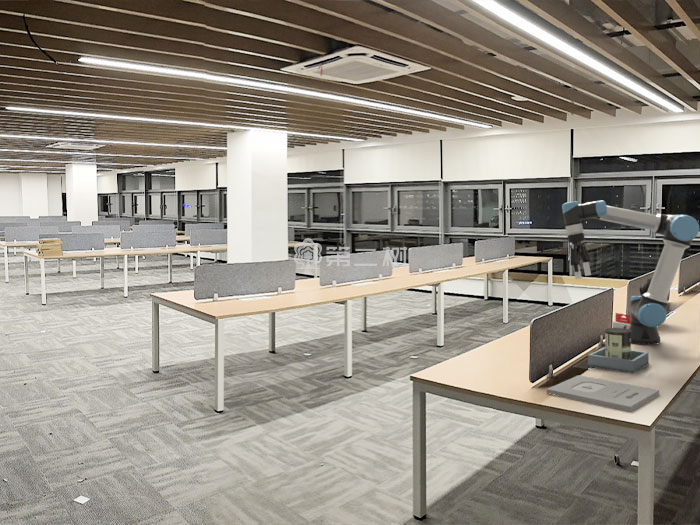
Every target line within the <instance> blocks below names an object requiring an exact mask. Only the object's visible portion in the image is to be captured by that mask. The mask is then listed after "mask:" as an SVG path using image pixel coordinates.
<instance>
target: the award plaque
mask: <svg viewBox="0 0 700 525" xmlns="http://www.w3.org/2000/svg"><path fill="white" fill-rule="evenodd" d="M547 393H551V394H555V395H554V396H556V395H559V396H558V397H560V396H562V397H561V398H565V397H566V399H570V400H574V401H580V402H584V403H588V404H593V405H597V406H602V407H607V408H612V409H617V410H621V411H625V412H630V413H631V412H633V411H635V410H636V409H637V408H639V407H640V406H643V405H645V404H646V403H648V402H649V401H651V400H653V399H654V398H656V397H657V396H659V395H660V389H656V388H651V387H644V386H639V385H634V384H629V383H623V382H617V381H613V380H606V379H602V378H596V377H590V376H585V375H580V374H578V375H575V376H574V377H572V378H569V379H567V380H564V381H562V382H560V383H558V384H557V383H556V384H555V385H553V386H550V387H548V388H546V394H547ZM551 394H550V395H551Z"/></svg>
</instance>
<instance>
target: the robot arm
mask: <svg viewBox="0 0 700 525" xmlns="http://www.w3.org/2000/svg"><path fill="white" fill-rule="evenodd" d="M561 208H562V215H563V222H564V225H565V228H564V230H565V232H566V234H567V242H568V243H569V244H570V245H569V250H570V266H572V267H573V272H574V278H575V280H577V279H578V280H579V279H583V277H582V272H581V268H580V264H579V259H580V258H581V260H582V267H583V272H584V276H585V277H586V276H592V272H591V267H590V262H591V258H590V256H589V253H588V250H587V247H586V243H585V242H582V241H585V234H584V227H583V222H582V221H583V220H589V219H595V220H599V221H605V222H610V223H615V224H620V225H626V226H629V227H635V228H640V229H644V230H650V231H652V232H653V233H654V234H658V235H661V236H663V237H662V241H663V243H664V245H663V248H662V251H661V253H660V257H659V258H658V262H657V265H656V266H655V270H654V271H653V272H654V273H653V275H652V276H653V277H652V280H651V283H650V286H649V288H648V291H647V292H646V293H644V294H642V296H641V295H632V296H630V300H629V304H630V309H629V310H630V311H629V313H630V314H629V315H630V328H629V330H631V344H635V343H636V344H638V345H658V344H657V343H659V344H661V336H660V333H659V330H658V327H659V326H661V325H663V324H664V323H665V322H666V319H667V308H668V305H669V303H670V302H669V300H668V299H667V298H668V296H669V293H670V290H671V287H672V286H673V282H674V279H675V277H676V274H677V272H678V268H679V267H680V264H681V261H682V258H683V256H684V252H685V250H686V249H689V248H690V247H691V244H692V242H693V240H694V239H695V238H696V237H697V236H698V234H699V233H700V225H699V222H698V220H697V219H696V218H695V217H693V216H690V215H688V214H665V213H664V214H663V213H657V214H653V213H647V212H641V211H637V210H631V209H629V208H628V209H626V208H622V207H616V206H611V205H607V204H606V201H605V200H595V201H587V202H585V203H580V204H579V202H578V201H577V200H574V201H569V202H565V203H563V204H562V205H561ZM571 243H572V244H571ZM657 326H658V327H657ZM636 344H635V345H636Z"/></svg>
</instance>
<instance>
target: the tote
mask: <svg viewBox="0 0 700 525" xmlns="http://www.w3.org/2000/svg"><path fill="white" fill-rule="evenodd" d="M649 356H650V354H649V351H648V352H647V351H639V350H632V349H631V360H627V359H619V358H612V357H605V346H603V347H601V348H600V349H598V350H595V351H593V352H590V353H588V355H587V367H590V368H595V367H597V369H603V370H607V371H608V370H611V371H616V372H622V373H629V374H635V373H637V372H639V371H640V370H641V369H643V368H644V366H645V367H646V366H648V365H649V360H650V359H649V358H650V357H649ZM647 364H648V365H647Z"/></svg>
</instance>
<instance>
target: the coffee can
mask: <svg viewBox="0 0 700 525" xmlns="http://www.w3.org/2000/svg"><path fill="white" fill-rule="evenodd" d="M604 334H605V335H604V341H605V342H604V343H605V344H604V345H605V346H604V347H605V357H612V358H619V359H627V360H631V350H632V343H631V330H628V329H622V328H613V327H612V328H611V327H610V328H606V329H604Z"/></svg>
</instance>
